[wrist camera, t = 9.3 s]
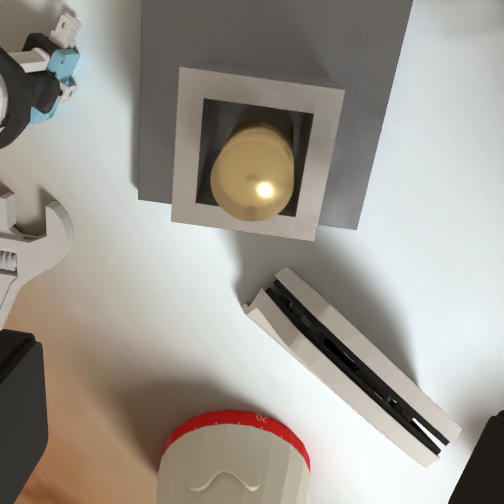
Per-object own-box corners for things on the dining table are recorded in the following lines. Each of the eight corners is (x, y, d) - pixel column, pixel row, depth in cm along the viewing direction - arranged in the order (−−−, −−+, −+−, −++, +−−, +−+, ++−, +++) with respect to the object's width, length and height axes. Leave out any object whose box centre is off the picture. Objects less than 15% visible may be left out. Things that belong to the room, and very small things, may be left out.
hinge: (237, 304, 35) (264, 357, 26) (279, 259, 35) (322, 295, 26) (374, 424, 40) (442, 508, 30) (411, 384, 40) (491, 456, 30)
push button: (39, -9, 27) (-84, -32, 18) (119, 47, 28) (42, 51, 19) (0, 90, 29) (-125, 113, 20) (74, 137, 30) (-13, 180, 21)
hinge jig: (435, -111, 24) (503, -176, 17) (354, 224, 32) (376, 279, 25) (150, -152, 24) (93, -235, 16) (142, 194, 32) (101, 241, 25)
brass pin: (299, 110, 28) (303, 152, 19) (285, 166, 29) (282, 229, 20) (242, 96, 28) (218, 132, 19) (231, 153, 29) (204, 211, 20)
